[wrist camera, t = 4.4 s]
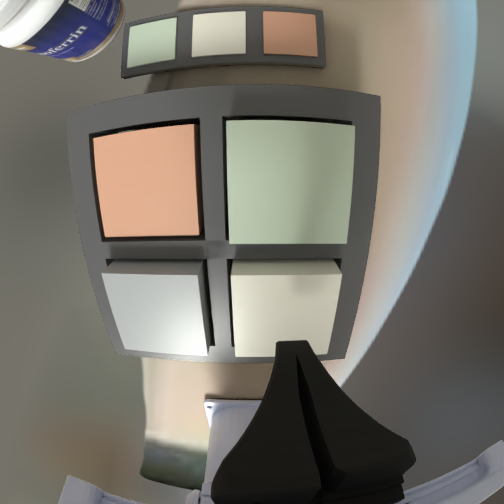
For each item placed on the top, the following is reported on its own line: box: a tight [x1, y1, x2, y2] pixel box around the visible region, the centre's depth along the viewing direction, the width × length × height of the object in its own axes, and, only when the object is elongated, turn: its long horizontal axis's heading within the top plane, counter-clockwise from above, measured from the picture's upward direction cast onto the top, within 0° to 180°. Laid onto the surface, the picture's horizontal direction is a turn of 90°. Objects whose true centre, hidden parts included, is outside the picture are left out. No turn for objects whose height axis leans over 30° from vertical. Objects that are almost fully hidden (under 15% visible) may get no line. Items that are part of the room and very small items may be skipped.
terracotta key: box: [93, 124, 204, 237], centre depth 14 cm, size 5×5×3 cm
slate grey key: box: [101, 259, 213, 356], centre depth 16 cm, size 5×5×3 cm
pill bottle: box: [0, 0, 125, 62], centre depth 7 cm, size 6×6×10 cm
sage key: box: [226, 120, 355, 244], centre depth 13 cm, size 5×5×3 cm
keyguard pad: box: [67, 84, 381, 363], centre depth 16 cm, size 16×16×4 cm
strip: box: [121, 6, 326, 79], centre depth 12 cm, size 12×4×1 cm, turn 90°
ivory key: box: [231, 258, 342, 357], centre depth 16 cm, size 5×5×3 cm
